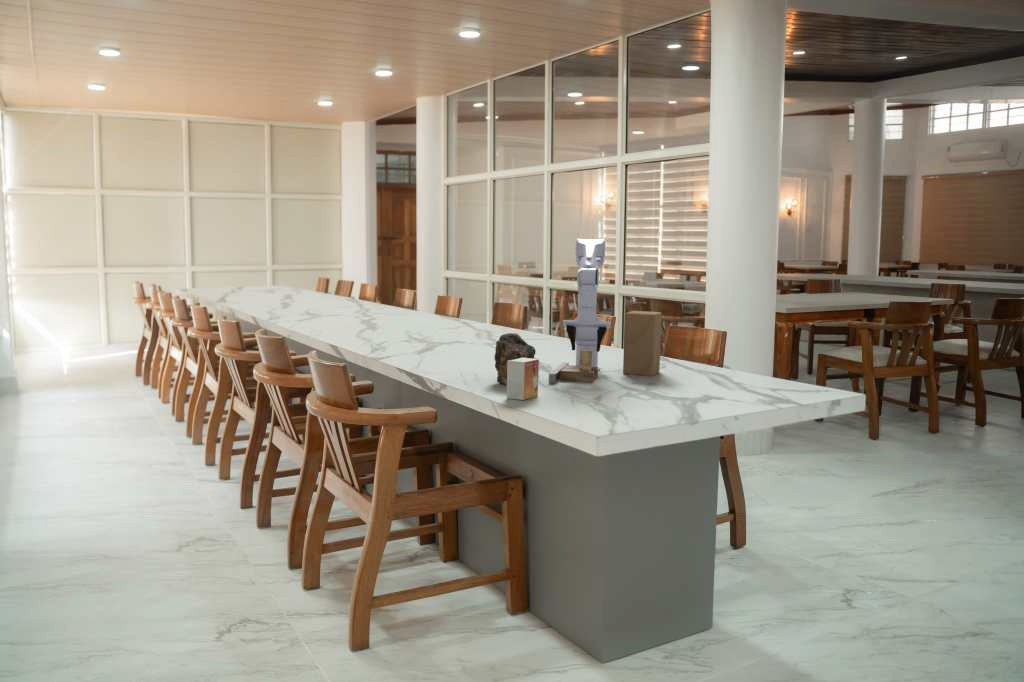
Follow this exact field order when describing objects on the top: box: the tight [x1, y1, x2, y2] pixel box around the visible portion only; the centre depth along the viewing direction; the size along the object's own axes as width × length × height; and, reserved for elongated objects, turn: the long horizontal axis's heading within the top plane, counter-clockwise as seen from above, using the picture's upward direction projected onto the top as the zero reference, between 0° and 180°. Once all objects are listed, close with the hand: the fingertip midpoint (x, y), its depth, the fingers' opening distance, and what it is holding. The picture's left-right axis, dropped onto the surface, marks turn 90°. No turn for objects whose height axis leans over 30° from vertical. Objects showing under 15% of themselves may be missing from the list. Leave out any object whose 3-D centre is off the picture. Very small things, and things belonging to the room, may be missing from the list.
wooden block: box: [622, 310, 663, 377], centre depth 279 cm, size 10×10×20 cm
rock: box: [494, 332, 537, 387], centre depth 257 cm, size 14×13×15 cm
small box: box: [506, 358, 540, 401], centre depth 234 cm, size 8×6×10 cm
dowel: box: [580, 350, 592, 371], centre depth 266 cm, size 4×4×9 cm
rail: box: [548, 362, 570, 385], centre depth 268 cm, size 24×2×3 cm, turn 167°
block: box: [559, 364, 599, 383], centre depth 267 cm, size 12×10×3 cm
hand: (585, 350), depth 265 cm, fingers open, 7 cm apart
